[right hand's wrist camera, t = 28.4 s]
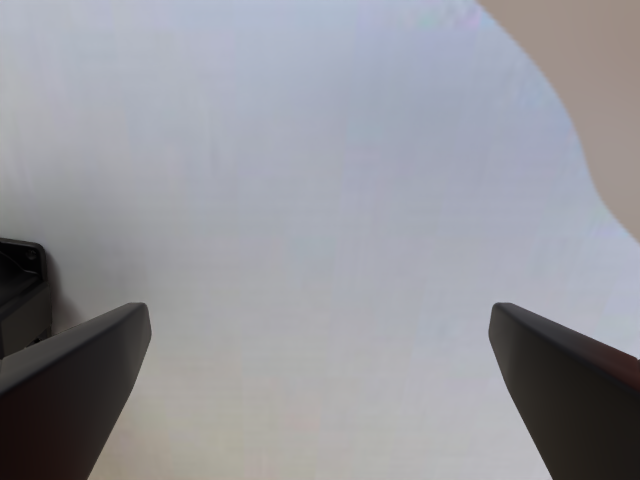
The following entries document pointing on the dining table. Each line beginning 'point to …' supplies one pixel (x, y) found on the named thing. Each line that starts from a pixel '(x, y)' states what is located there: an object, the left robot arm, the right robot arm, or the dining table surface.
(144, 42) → the dining table surface
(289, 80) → the dining table surface
